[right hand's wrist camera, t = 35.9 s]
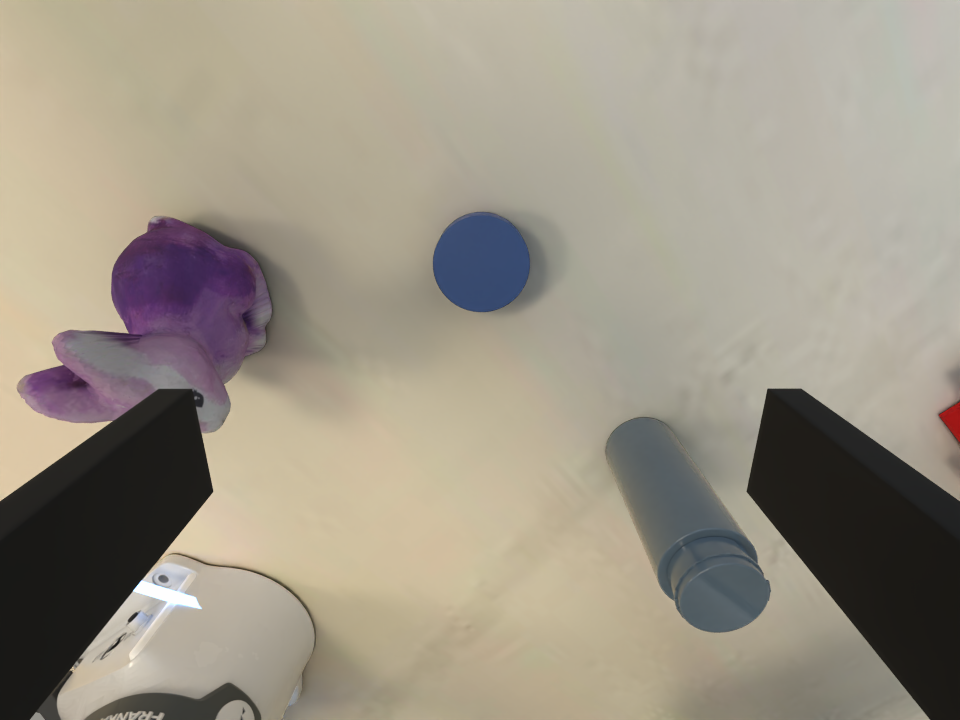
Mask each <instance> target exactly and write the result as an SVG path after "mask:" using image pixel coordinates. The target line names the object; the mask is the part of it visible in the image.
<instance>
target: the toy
mask: <svg viewBox="0 0 960 720" xmlns="http://www.w3.org/2000/svg"><path fill="white" fill-rule="evenodd" d="M939 416H940V418H941V419H942V420H943V422H944V423H945V424H946V425H947V427H948V428H949V429H950V431H951V432H952V433H953V435H954V436H955V437H956V438H957V440H958V441H959V442H960V402H959V403H957V404H956V405H954V406H952V407H951V408H949V409H948V410H946V411H945V412H943V413H941V414H940V415H939Z"/></svg>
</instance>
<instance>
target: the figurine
mask: <svg viewBox="0 0 960 720" xmlns="http://www.w3.org/2000/svg"><path fill="white" fill-rule="evenodd" d="M111 294H112V300H113V303H114V306H115V308H116V310H117V312H118V314H119V315H120V317H121V319H122V320H123V321H124V323H125V326H126V328H127V330H128V332H129V334H128V333H116V332H104V331H78V330H68V331H65V332H62V333H59V334H58V335H57V336H56V337H54V339H53V341H52V344H53V347H54V351H55V354H56V356H57V358H58V360H60V361H61V362H62V363H63V364H64V365H62V366H58V367H54V368H50V369H47V370H43V371H39V372H36V373H33V374H29V375H26V376H24V377H23V378H22V379H21V380H20V381H19V383H18V384H17V391H18V392H19V394H20V395H21V397H22V398H23V399H25V402H26V403H27V404H28V405H29V406H30V407H31V408H32V409H33V410H34V411H36V412H38V413H41V414H43V415H45V416H47V417H50V418H55V419H58V420H62V421H68V422H73V423H96V422H104V421H114V420H115V419H117V418H118V417H120V416H121V415H123V414H124V413H125V412H127V411H128V410H130V409H131V408H132V407H134V406H135V405H137V404H138V403H139V402H141V401H142V400H144V399H145V398H146V397H148V396H149V395H151V394H152V393H153V392H155V391H156V390H158V389H193V394H194V399H195V404H196V409H197V414H198V419H199V424H200V429H201V433H210V432H214V431H216V430H218V429H219V428H220V427H221V426H222V425H223V423H224V421H225V419H226V417H227V415H228V413H229V412H230V406H231V403H230V399H229V396H228V393H227V391H226V389H225V386H224V384H225V383H227V382H228V381H229V380H230V379H232V378H233V376H234V375H235V374H236V373H237V371H238V370H239V368H240V366H241V364H242V362H243V360H244V357H245V356H248V355H251V354H253V353H255V352H258V351H260V350H261V349H262V348H263V347H264V346H265V343H266V340H267V339H266V331H265V326H266V325H267V323H268V322H269V321H270V319H271V315H272V304H271V300H270V298H269V292H268V289H267V285H266V281H265V279H264V277H263V273H262V272H261V268H260V266H259V264H258V262H257V261H256V260H255V259H254V258H253V257H252V256H251V255H250V254H249V253H247V252H245V251H243V250H240V249H235V248H230V247H227V246H224V245H222V244H221V243H219V242H218V241H216V240H215V239H214V238H213V237H211V236H210V235H208V234H207V233H205V232H203V231H202V230H199V229H197V228H195V227H193V226H191V225H189V224H186V223H184V222H182V221H180V220H177V219H173V218H170V217H165V216H154V217H153V218H152V219H151V220H150V221H149V223H148V232H147V233H145V234H143V235H141V236H139V237H137V238H136V239H134V240H133V241H132V242H131V243H130V244H129V245H128V246H127V247H126V249H125V250H124V251H123V252H122V253H121V255H120V256H119V257H118V259H117V261H116V263H115V264H114V268H113V271H112V284H111Z"/></svg>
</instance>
